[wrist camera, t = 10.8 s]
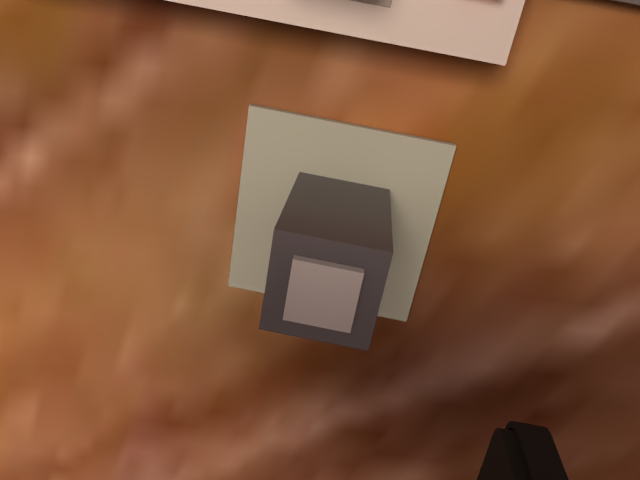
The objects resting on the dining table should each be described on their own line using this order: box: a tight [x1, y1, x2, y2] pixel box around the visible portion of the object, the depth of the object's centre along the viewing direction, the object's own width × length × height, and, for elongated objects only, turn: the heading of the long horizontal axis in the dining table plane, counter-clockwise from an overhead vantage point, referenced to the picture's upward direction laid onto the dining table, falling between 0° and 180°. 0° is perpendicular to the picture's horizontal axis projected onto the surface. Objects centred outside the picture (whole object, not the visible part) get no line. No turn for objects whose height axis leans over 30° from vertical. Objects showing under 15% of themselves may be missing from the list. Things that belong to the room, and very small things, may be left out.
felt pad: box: [228, 104, 456, 322], centre depth 31 cm, size 11×11×1 cm
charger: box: [259, 172, 393, 351], centre depth 27 cm, size 5×5×8 cm
